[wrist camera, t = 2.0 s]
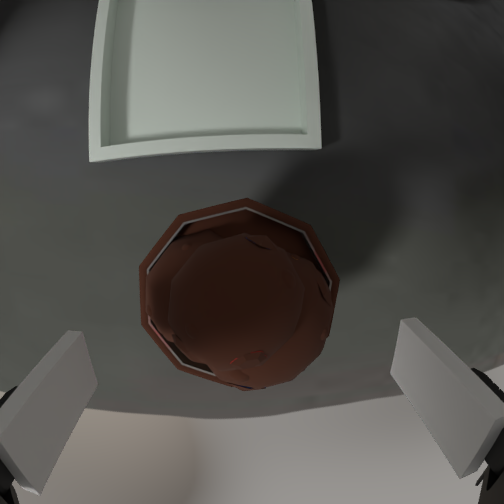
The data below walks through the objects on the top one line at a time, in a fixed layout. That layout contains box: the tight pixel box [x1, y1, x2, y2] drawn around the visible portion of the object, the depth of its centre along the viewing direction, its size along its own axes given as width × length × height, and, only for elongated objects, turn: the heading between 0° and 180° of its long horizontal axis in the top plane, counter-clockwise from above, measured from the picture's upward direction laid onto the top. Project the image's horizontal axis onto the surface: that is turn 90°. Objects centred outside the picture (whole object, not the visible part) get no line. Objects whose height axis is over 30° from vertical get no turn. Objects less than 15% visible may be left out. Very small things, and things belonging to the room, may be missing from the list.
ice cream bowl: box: [139, 198, 340, 391], centre depth 19 cm, size 11×11×15 cm
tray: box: [89, 0, 322, 162], centre depth 20 cm, size 17×17×2 cm
